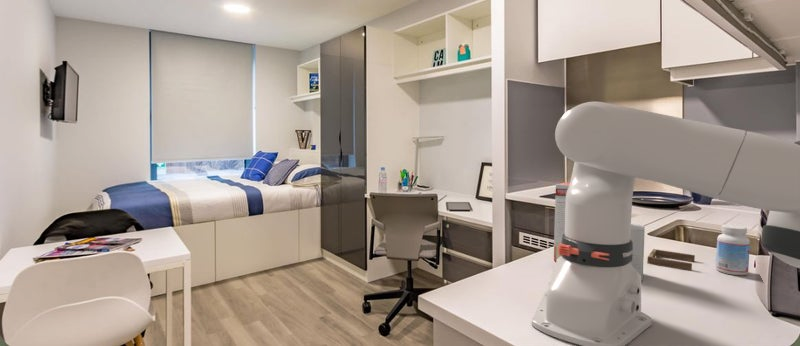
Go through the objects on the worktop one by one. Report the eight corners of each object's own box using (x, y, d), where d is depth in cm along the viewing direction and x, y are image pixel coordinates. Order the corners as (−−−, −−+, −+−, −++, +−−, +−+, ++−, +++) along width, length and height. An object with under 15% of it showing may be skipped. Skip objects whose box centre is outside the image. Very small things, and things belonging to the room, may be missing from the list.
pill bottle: (754, 277, 92) (757, 229, 91) (724, 275, 94) (727, 228, 93) (737, 268, 98) (740, 224, 97) (709, 267, 100) (712, 223, 99)
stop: (691, 270, 97) (691, 264, 97) (647, 263, 103) (647, 257, 103) (694, 261, 104) (694, 255, 104) (653, 254, 110) (653, 248, 110)
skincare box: (622, 270, 98) (624, 222, 96) (642, 273, 95) (644, 224, 94) (621, 278, 92) (623, 227, 91) (642, 281, 90) (645, 229, 89)
